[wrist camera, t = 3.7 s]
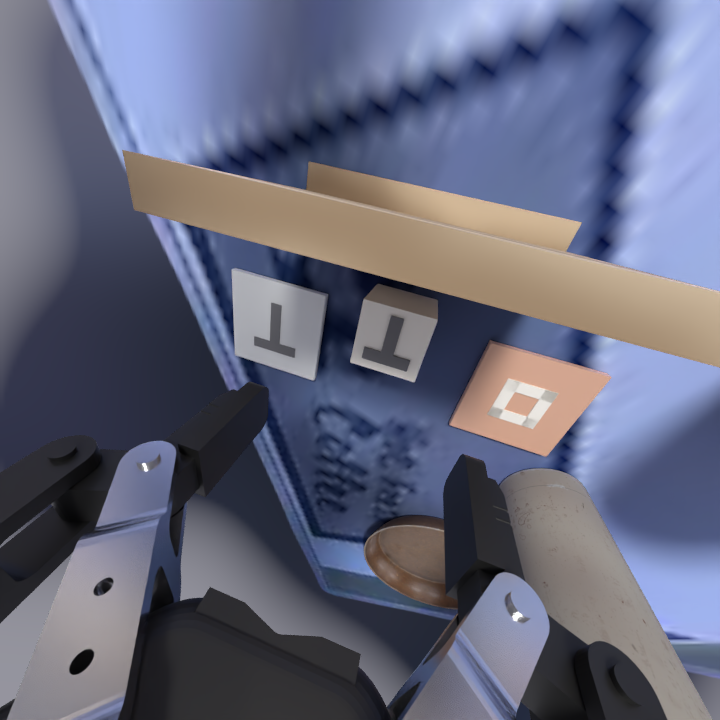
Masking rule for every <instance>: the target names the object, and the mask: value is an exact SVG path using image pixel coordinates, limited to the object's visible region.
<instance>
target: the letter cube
mask: <svg viewBox="0 0 720 720" xmlns="http://www.w3.org/2000/svg"><path fill="white" fill-rule="evenodd" d="M437 321H438V300H436V299H433V298H429V297H425V296H422V295H418V294H414V293H411V292H407V291H403V290H400V289H396V288H392V287H389V286H385V285H381V284H377V285H376V286H375V287H374V288H373V289H372V290H371V291H370V293H369V294H368V295H367V296H366V297H365V298H364V300H363V304H362V309H361V314H360V318H359V323H358V328H357V332H356V337H355V341H354V346H353V351H352V355H351V360H350V363H354V364H357V365H360V366H363V367H366V368H370V369H373V370H376V371H379V372H382V373H386V374H389V375H392V376H395V377H398V378H402V379H405V380H408V381H411V382H415V380H416V377H417V374H418V372H419V369H420V366H421V364H422V361H423V358H424V356H425V353H426V350H427V348H428V345H429V342H430V340H431V337H432V335H433V332H434V329H435V327H436V324H437Z"/></svg>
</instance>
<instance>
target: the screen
mask: <svg viewBox="0 0 720 720" xmlns="http://www.w3.org/2000/svg"><path fill="white" fill-rule="evenodd" d="M122 151H123V156H124V161H125V166H126V171H127V176H128V181H129V186H130V191H131V196H132V201H133V206H134V210H137V211H140V212H144V213H147V214H151V215H155V216H159V217H162V218H166V219H170V220H173V221H177V222H181V223H185V224H188V225H192V226H196V227H199V228H203V229H207V230H211V231H214V232H218V233H222V234H226V235H229V236H233V237H237V238H240V239H244V240H248V241H252V242H255V243H259V244H263V245H266V246H270V247H274V248H278V249H281V250H285V251H289V252H292V253H296V254H300V255H304V256H307V257H311V258H315V259H318V260H322V261H326V262H330V263H333V264H337V265H341V266H345V267H348V268H352V269H356V270H359V271H363V272H367V273H371V274H374V275H378V276H382V277H385V278H389V279H393V280H397V281H400V282H404V283H408V284H411V285H415V286H419V287H423V288H426V289H430V290H434V291H437V292H441V293H445V294H449V295H452V296H456V297H460V298H464V299H467V300H471V301H475V302H478V303H482V304H486V305H490V306H493V307H497V308H501V309H504V310H508V311H512V312H516V313H519V314H523V315H527V316H530V317H534V318H538V319H542V320H545V321H549V322H553V323H556V324H560V325H564V326H568V327H571V328H575V329H579V330H583V331H586V332H590V333H594V334H597V335H601V336H605V337H609V338H612V339H616V340H620V341H623V342H627V343H631V344H635V345H638V346H642V347H646V348H649V349H653V350H657V351H661V352H664V353H668V354H672V355H675V356H679V357H683V358H687V359H690V360H694V361H698V362H702V363H705V364H709V365H713V366H716V367H720V291H716V290H712V289H708V288H704V287H701V286H697V285H693V284H689V283H685V282H681V281H677V280H673V279H670V278H666V277H662V276H658V275H654V274H650V273H646V272H642V271H639V270H635V269H631V268H627V267H623V266H619V265H615V264H611V263H608V262H604V261H600V260H596V259H592V258H588V257H584V256H580V255H577V254H573V253H569V252H566V250H567V248H568V247H569V245H570V243H571V241H572V239H573V238H574V236H575V234H576V232H577V230H578V229H579V227H580V225H581V222H577V221H573V220H568V219H564V218H559V217H555V216H550V215H546V214H541V213H537V212H532V211H528V210H523V209H519V208H514V207H510V206H506V205H501V204H497V203H492V202H488V201H483V200H479V199H474V198H470V197H465V196H461V195H456V194H452V193H448V192H443V191H439V190H434V189H430V188H425V187H421V186H416V185H412V184H407V183H403V182H398V181H394V180H389V179H385V178H381V177H376V176H372V175H367V174H363V173H358V172H354V171H349V170H345V169H340V168H336V167H331V166H327V165H323V164H318V163H314V162H309V164H308V176H307V188H306V190H304V189H299V188H295V187H290V186H286V185H281V184H276V183H272V182H267V181H263V180H258V179H253V178H249V177H244V176H240V175H235V174H230V173H226V172H221V171H217V170H212V169H207V168H203V167H198V166H194V165H189V164H184V163H180V162H175V161H171V160H166V159H162V158H157V157H152V156H148V155H143V154H139V153H134V152H129V151H125V150H122Z"/></svg>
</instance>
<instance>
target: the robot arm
mask: <svg viewBox="0 0 720 720" xmlns="http://www.w3.org/2000/svg"><path fill="white" fill-rule="evenodd" d="M268 396H269V390H268V388H267V387H265V386H262V385H259V384H256V383H253V382H248V383H246V384H245V385H244V386H243V387H242V388H241V389H240V390H238V391H236V390H231V391H228V392H226V393H224V394H221V395H219V396H218V397H217V398H216V399H214V400H213V401H212V402H211V403H210V404H209V405H207V406H206V407H205V408H203V409H202V410H201V412H198V413H197V414H196V415H195V416H193V418H191V419H190V420H189V421H187V422H186V423H185V424H184V425H182V426H181V427H180V428H179V429H177V430H176V431H175V432H174V433H172V434H171V435H170V436H169V437H168V438H166V439H165V440H164V441H152V442H148V443H144V444H141V445H139V446H137V447H135V448H133V449H132V450H130V451H124V450H106V449H99V448H98V446H97V443H96V441H95V440H94V439H93V438H91V437H89V436H83V435H76V436H69V437H64V438H61V439H58V440H55V441H52V442H50V443H48V444H46V445H44V446H43V447H41V448H40V449H38V450H37V451H34V452H33V453H31V454H30V455H28V456H26V457H25V458H23V459H22V460H20V461H18V462H17V463H15V464H13V465H12V466H10V467H9V468H7V469H5V470H4V471H2V472H1V473H0V545H1V544H2V543H3V542H4V541H5V540H6V539H7V538H8V537H9V536H11V535H12V534H13V533H14V532H16V531H17V530H18V529H20V528H21V527H22V526H23V525H25V524H26V523H27V522H28V521H30V520H31V519H32V518H33V517H35V516H36V515H37V514H38V513H40V512H41V511H42V510H43V509H45V508H46V507H47V506H49V505H50V504H51V505H52V507H51V508H50V509H49V510H48V511H46V512H45V513H44V514H42V515H41V516H40V517H39V518H37V519H36V520H35V521H34V522H32V523H31V524H30V525H29V526H27V527H26V528H25V529H24V530H22V531H21V532H20V533H19V534H17V535H16V536H15V537H14V538H12V539H11V540H10V541H9V542H7V543H6V544H5V545H4V546H2V547H1V548H0V623H1V622H2V621H3V620H4V619H5V618H6V617H7V616H8V615H9V614H10V613H11V612H12V611H13V610H14V609H15V608H16V607H17V606H18V605H19V604H20V603H21V602H22V601H23V600H24V599H25V598H26V597H27V596H29V595H30V593H32V592H33V591H34V590H35V588H37V587H38V586H39V585H40V584H41V583H42V582H43V581H44V580H45V579H46V578H47V577H48V576H49V575H50V574H51V573H52V572H53V571H54V570H55V569H56V568H57V567H58V566H59V565H60V564H61V563H62V562H63V561H64V560H65V559H66V558H67V557H68V556H69V555H70V554H71V553H72V552H73V554H72V556H71V559H70V561H69V564H68V566H67V569H66V571H65V574H64V576H63V579H62V582H61V584H60V587H59V590H58V592H57V594H56V597H55V599H54V602H53V604H52V607H51V609H50V612H49V614H48V617H47V619H46V622H45V624H44V627H43V630H42V632H41V635H40V637H39V640H38V642H37V645H36V647H35V650H34V652H33V655H32V657H31V660H30V662H29V665H28V667H27V670H26V672H25V675H24V678H23V680H22V683H21V685H20V688H19V691H18V693H17V695H16V698H15V699H13V700H12V701H10V702H9V703H7V704H6V705H4V706H2V707H1V708H0V720H516V712H517V709H518V706H519V704H520V702H522V703H523V704H524V705H525V706H526V707H528V708H529V711H530V718H531V720H667V717H666V715H665V713H664V710H663V708H662V706H661V703H660V701H659V699H658V697H657V695H656V693H655V691H654V689H653V688H652V686H651V684H650V683H649V681H648V680H647V678H646V677H645V675H644V674H643V673H642V672H641V670H640V669H639V668H638V667H637V666H636V664H635V663H634V662H633V661H632V660H631V659H630V658H629V657H628V656H627V655H626V654H624V653H623V652H622V651H621V650H619V649H618V648H616V647H615V646H613V645H611V644H610V643H607V642H604V641H595V642H593V643H591V644H589V645H588V644H586V643H585V642H584V641H582V640H581V639H579V638H578V637H577V636H575V635H574V634H573V633H571V632H570V631H569V630H567V629H566V628H565V627H563V626H562V625H561V624H559V623H558V622H557V621H555V620H554V619H553V618H552V617H551V616H549V615H548V614H547V612H546V610H545V607H544V605H543V603H542V601H541V600H540V598H539V597H538V595H537V594H536V592H535V591H534V590H533V589H532V588H531V587H530V586H529V585H528V584H527V583H526V581H525V578H524V574H523V570H522V566H521V562H520V558H519V554H518V550H517V546H516V542H515V537H514V533H513V529H512V526H511V525H510V523H511V521H510V517H509V513H507V511H508V509H507V504H506V500H505V496H504V494H503V492H502V491H501V489H500V487H499V486H498V484H497V482H496V481H495V480H493V479H490V478H488V476H487V471H486V466H485V463H484V461H482V460H479V459H476V458H473V457H470V456H467V455H464V454H462V455H461V456H460V457H459V459H458V461H457V462H456V464H455V466H454V467H453V469H452V471H451V473H450V474H449V476H448V478H447V480H446V482H445V486H444V492H443V503H444V547H445V591H446V595H447V596H449V597H452V598H454V599H457V600H458V613H457V614H456V615H455V617H454V618H453V620H452V621H451V622H450V624H449V625H448V627H447V628H446V629H445V631H444V632H443V633H442V635H441V636H440V638H439V639H438V640H437V642H436V643H435V645H434V646H433V647H432V649H431V650H430V652H429V653H428V654H427V655H426V657H425V658H424V660H423V661H422V662H421V664H420V665H419V666H418V668H417V669H416V670H415V672H414V673H413V674H412V675H411V676H410V677H409V678H408V680H407V681H406V682H405V683H404V685H403V686H402V687H401V688H400V690H399V691H398V692H397V694H396V695H395V696H394V698H393V699H392V701H391V702H390V703H389V705H388V706H387V707H386V705H385V703H384V701H383V699H382V697H381V695H380V694H379V692H378V690H377V689H376V687H375V685H374V684H373V682H372V681H371V680H370V679H369V677H368V676H367V675H366V674H365V672H364V671H363V670H361V669H360V668H359V667H358V666H359V660H360V654H359V653H357V652H355V651H352V650H350V649H348V648H345V647H343V646H341V645H339V644H336V643H334V642H332V641H330V640H328V639H325V638H323V637H315V636H298V635H281V634H277V633H275V632H274V631H273V630H272V629H271V628H270V627H269V626H268V625H267V624H266V623H265V622H264V621H263V620H262V619H261V618H260V617H259V616H258V615H257V614H256V613H255V612H254V611H253V610H252V609H251V608H250V607H249V606H248V605H247V604H246V603H244V602H242V601H240V600H238V599H235V598H233V597H230V596H229V595H226V594H224V593H222V592H220V591H217V590H215V589H213V588H211V587H210V588H209V590H208V591H207V593H206V595H205V596H204V598H192V599H186V600H182V601H180V594H181V555H182V546H183V536H184V528H185V519H186V510H187V501H188V500H189V499H190V497H191V496H192V495H193V494H194V493H196V494H199V495H201V496H204V497H206V496H207V495H208V493H209V492H210V491H211V490H212V489H213V487H214V486H215V485H216V484H217V483H218V481H219V480H220V479H221V478H222V476H223V475H224V474H225V473H226V472H227V470H228V469H229V468H230V467H231V466H232V464H233V463H234V462H235V461H236V460H237V459H238V457H239V456H240V455H241V454H242V452H243V451H244V450H245V449H246V448H247V446H248V445H249V444H250V443H251V442H252V440H253V439H254V438H255V437H256V436H257V434H258V433H259V432H260V431H261V430H262V428H263V427H264V425H265V423H266V420H267V416H268Z"/></svg>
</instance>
